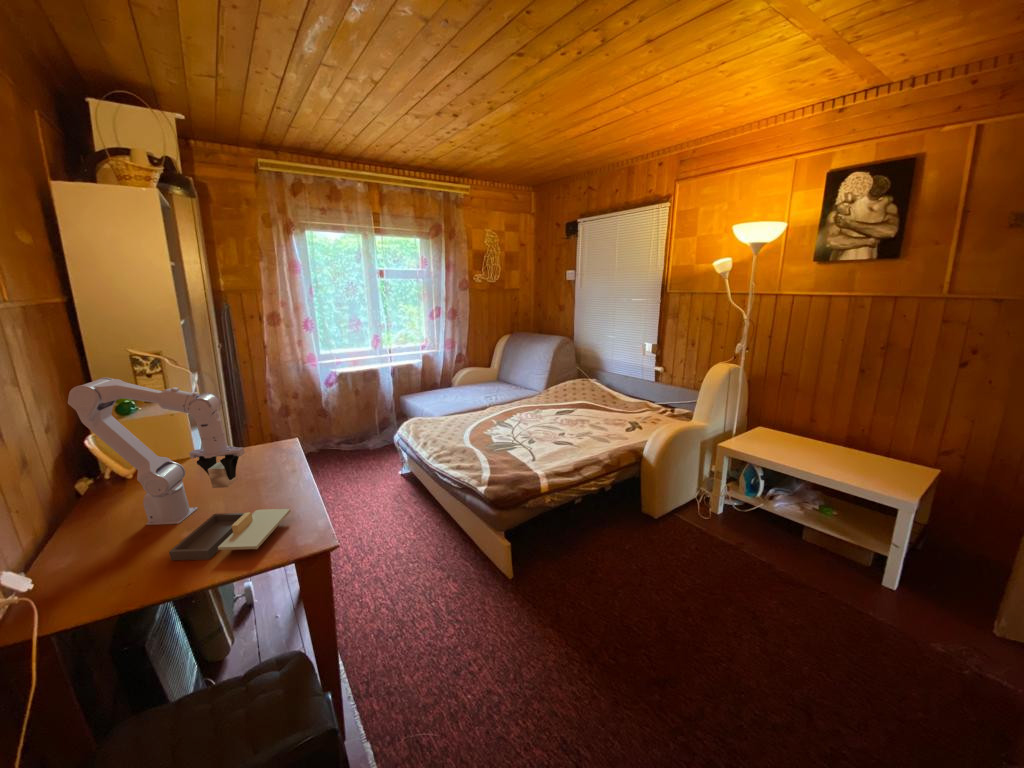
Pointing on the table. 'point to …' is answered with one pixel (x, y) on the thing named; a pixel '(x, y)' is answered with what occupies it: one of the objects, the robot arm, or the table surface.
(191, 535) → the grey storage tray
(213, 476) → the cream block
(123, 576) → the table surface
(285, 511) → the lid
